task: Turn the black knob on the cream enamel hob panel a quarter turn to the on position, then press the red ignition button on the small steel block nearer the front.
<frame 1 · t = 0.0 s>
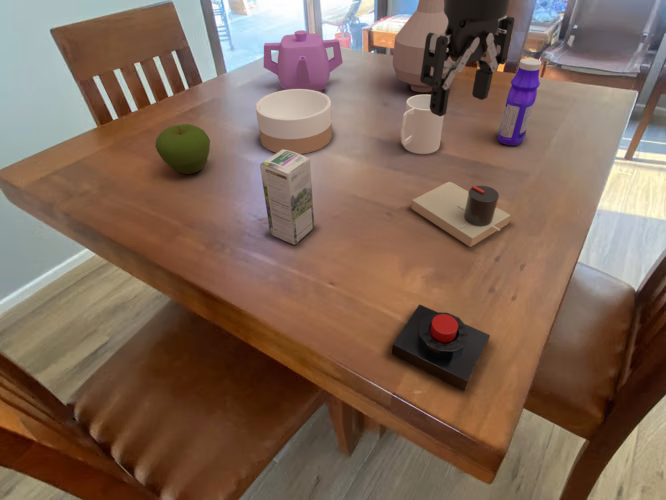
hand: (459, 105, 61), 22 cm above the table, tool pointing down, fingers open, 8 cm apart
bowl: (296, 137, 104), on the table
apple: (191, 170, 94), on the table
hob panel: (458, 216, 78), on the table
cup: (416, 148, 98), on the table
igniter: (439, 349, 57), on the table
teapot: (305, 87, 127), on the table
vase: (422, 88, 124), on the table
hob knob: (481, 205, 73), point 5 cm above the table, hinge at 0.0°
syrup box: (293, 232, 77), on the table
ignite button: (444, 328, 54), point 4 cm above the table, slide at 0.1 cm
bottle: (510, 140, 99), on the table
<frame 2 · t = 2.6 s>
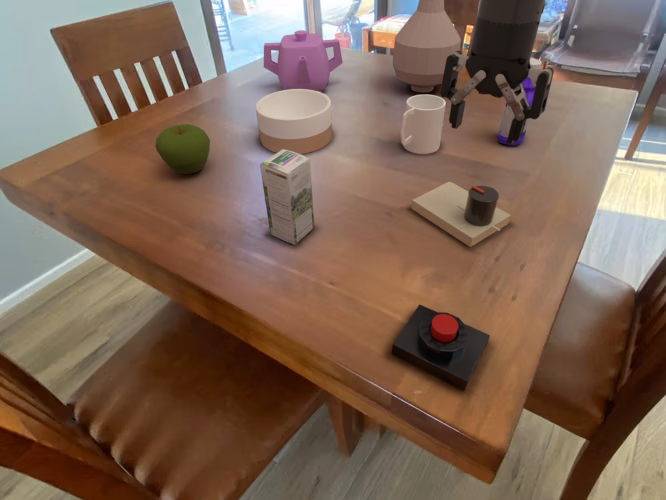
hand: (483, 134, 64), 18 cm above the table, tool pointing down, fingers open, 8 cm apart
nothing on the table moved.
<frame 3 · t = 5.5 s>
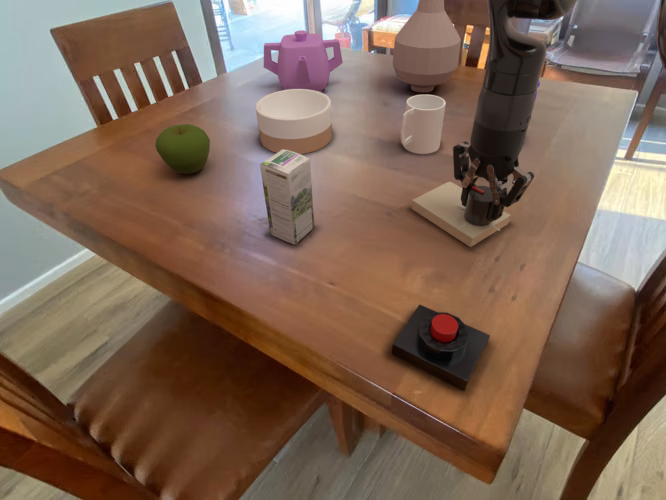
hand: (479, 211, 74), 3 cm above the table, tool pointing down, fingers closed on hob knob, 5 cm apart
hob knob: (481, 205, 73), point 5 cm above the table, hinge at 0.1°, touching gripper
everything else where it was.
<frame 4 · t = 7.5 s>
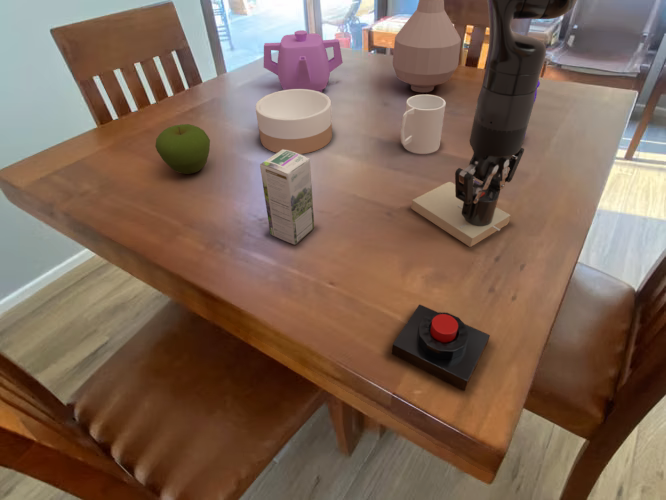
hand: (478, 210, 74), 3 cm above the table, tool pointing down, fingers closed on hob knob, 5 cm apart
hob knob: (481, 205, 73), point 5 cm above the table, hinge at 93.0°, touching gripper
everything else where it was.
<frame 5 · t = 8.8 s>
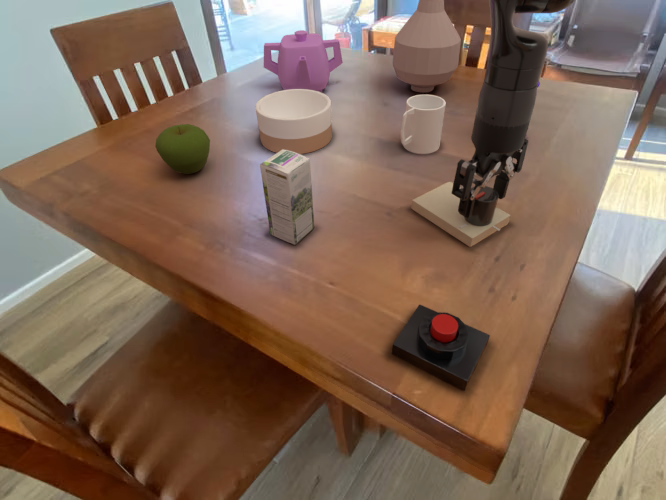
hand: (481, 205, 73), 5 cm above the table, tool pointing down, fingers open, 8 cm apart
hob knob: (481, 205, 73), point 5 cm above the table, hinge at 92.2°
everything else where it was.
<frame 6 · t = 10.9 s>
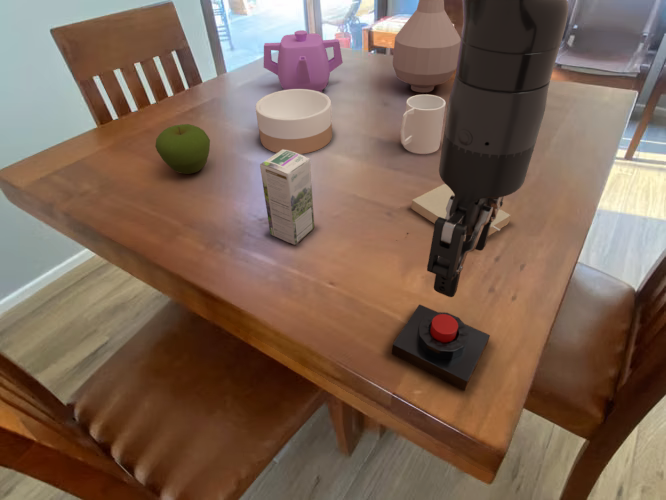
hand: (460, 268, 47), 15 cm above the table, tool pointing down, fingers open, 8 cm apart
nothing on the table moved.
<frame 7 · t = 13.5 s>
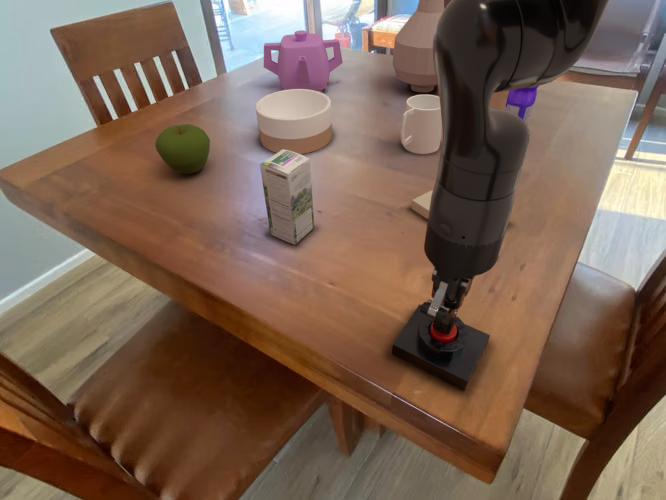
hand: (443, 327, 54), 4 cm above the table, tool pointing down, fingers closed
ignite button: (443, 332, 55), point 4 cm above the table, slide at -0.8 cm, touching gripper
everything else where it was.
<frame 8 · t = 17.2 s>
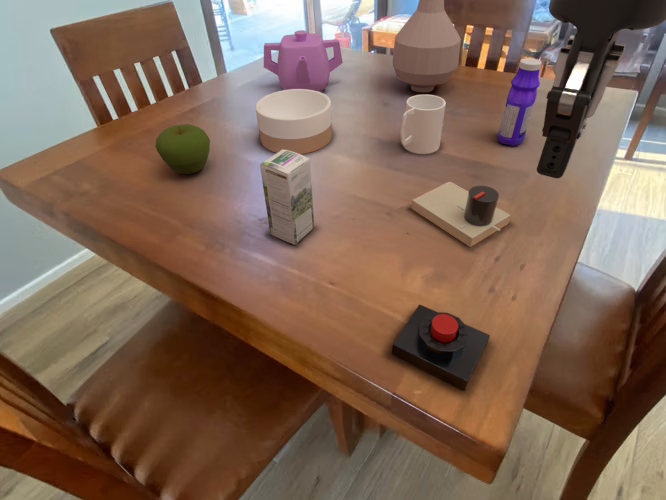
hand: (550, 172, 39), 27 cm above the table, tool pointing down, fingers closed
ignite button: (444, 328, 54), point 4 cm above the table, slide at 0.1 cm
everything else where it was.
at the end: hob knob at +92° (first picture: +0°); ignite button pushed in 1.1 cm at the most during the clip, back to where it started at the end; ignite button slide at 0.1 cm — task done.
